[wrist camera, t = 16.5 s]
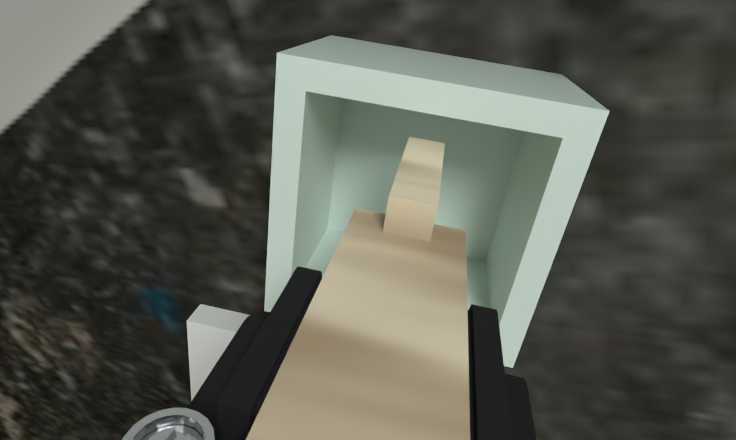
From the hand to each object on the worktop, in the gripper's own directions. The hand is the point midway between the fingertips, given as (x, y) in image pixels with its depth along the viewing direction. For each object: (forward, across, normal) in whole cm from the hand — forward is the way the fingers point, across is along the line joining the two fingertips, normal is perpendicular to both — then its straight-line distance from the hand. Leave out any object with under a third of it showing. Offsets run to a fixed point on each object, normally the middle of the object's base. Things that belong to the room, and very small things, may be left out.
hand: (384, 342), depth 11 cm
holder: (+13, 0, 0) cm, 13 cm away
